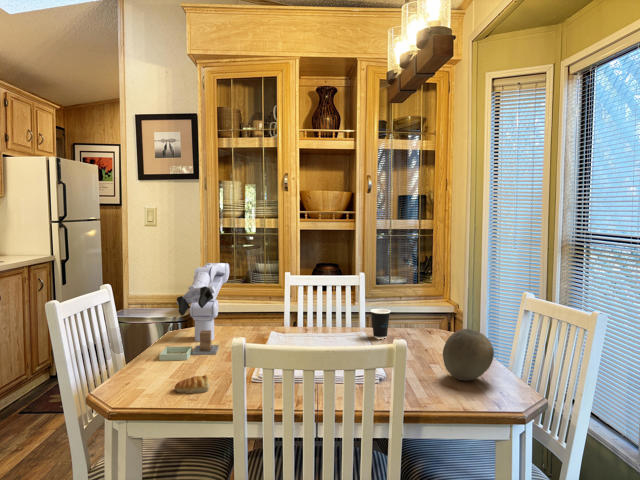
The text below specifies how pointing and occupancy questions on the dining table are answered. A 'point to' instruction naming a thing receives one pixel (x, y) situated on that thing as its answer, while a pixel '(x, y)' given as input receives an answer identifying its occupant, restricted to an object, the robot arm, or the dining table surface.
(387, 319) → the dixie cup
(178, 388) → the pastry
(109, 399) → the dining table surface
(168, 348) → the bin
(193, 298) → the robot arm
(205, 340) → the strut
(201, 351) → the socket block
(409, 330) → the dining table surface
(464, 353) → the cantaloupe
